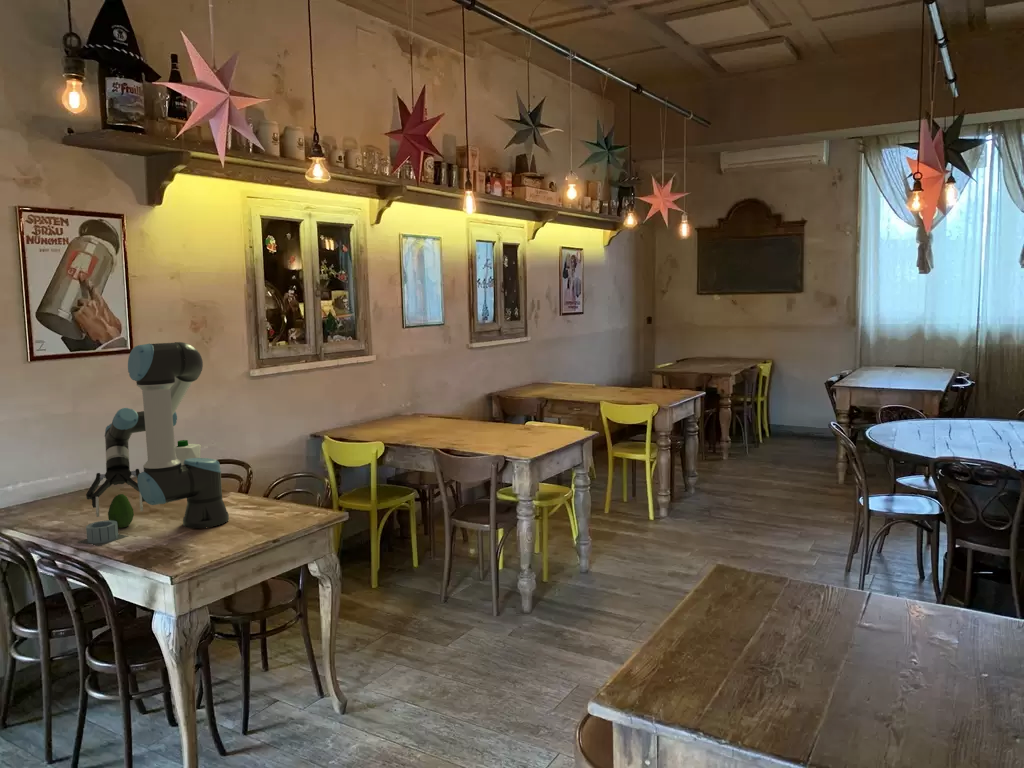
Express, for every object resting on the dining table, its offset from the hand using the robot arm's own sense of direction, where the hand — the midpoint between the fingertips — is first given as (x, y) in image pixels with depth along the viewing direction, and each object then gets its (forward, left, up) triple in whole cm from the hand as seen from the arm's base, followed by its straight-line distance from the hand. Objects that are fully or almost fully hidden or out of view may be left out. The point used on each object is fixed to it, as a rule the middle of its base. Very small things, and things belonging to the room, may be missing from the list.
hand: (119, 512), depth 260 cm
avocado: (0, -1, -6) cm, 6 cm away
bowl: (-6, +11, -5) cm, 14 cm away
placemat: (-6, +11, -6) cm, 14 cm away
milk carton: (+21, -51, -6) cm, 55 cm away
